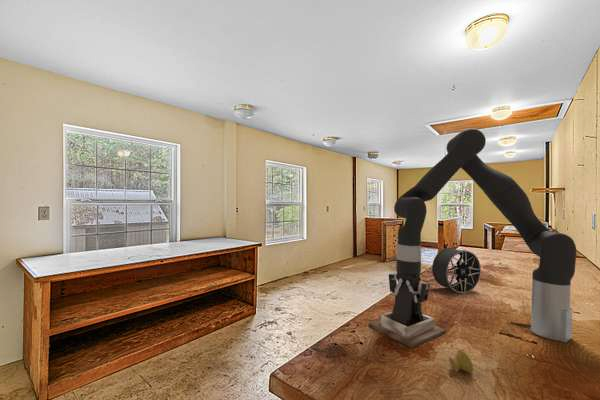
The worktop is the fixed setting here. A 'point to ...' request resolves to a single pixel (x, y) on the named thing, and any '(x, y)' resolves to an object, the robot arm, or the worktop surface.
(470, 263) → the wheel rim
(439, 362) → the worktop surface
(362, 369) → the worktop surface
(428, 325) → the collar stand
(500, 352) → the worktop surface
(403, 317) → the phone stand
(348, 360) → the worktop surface
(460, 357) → the knob
